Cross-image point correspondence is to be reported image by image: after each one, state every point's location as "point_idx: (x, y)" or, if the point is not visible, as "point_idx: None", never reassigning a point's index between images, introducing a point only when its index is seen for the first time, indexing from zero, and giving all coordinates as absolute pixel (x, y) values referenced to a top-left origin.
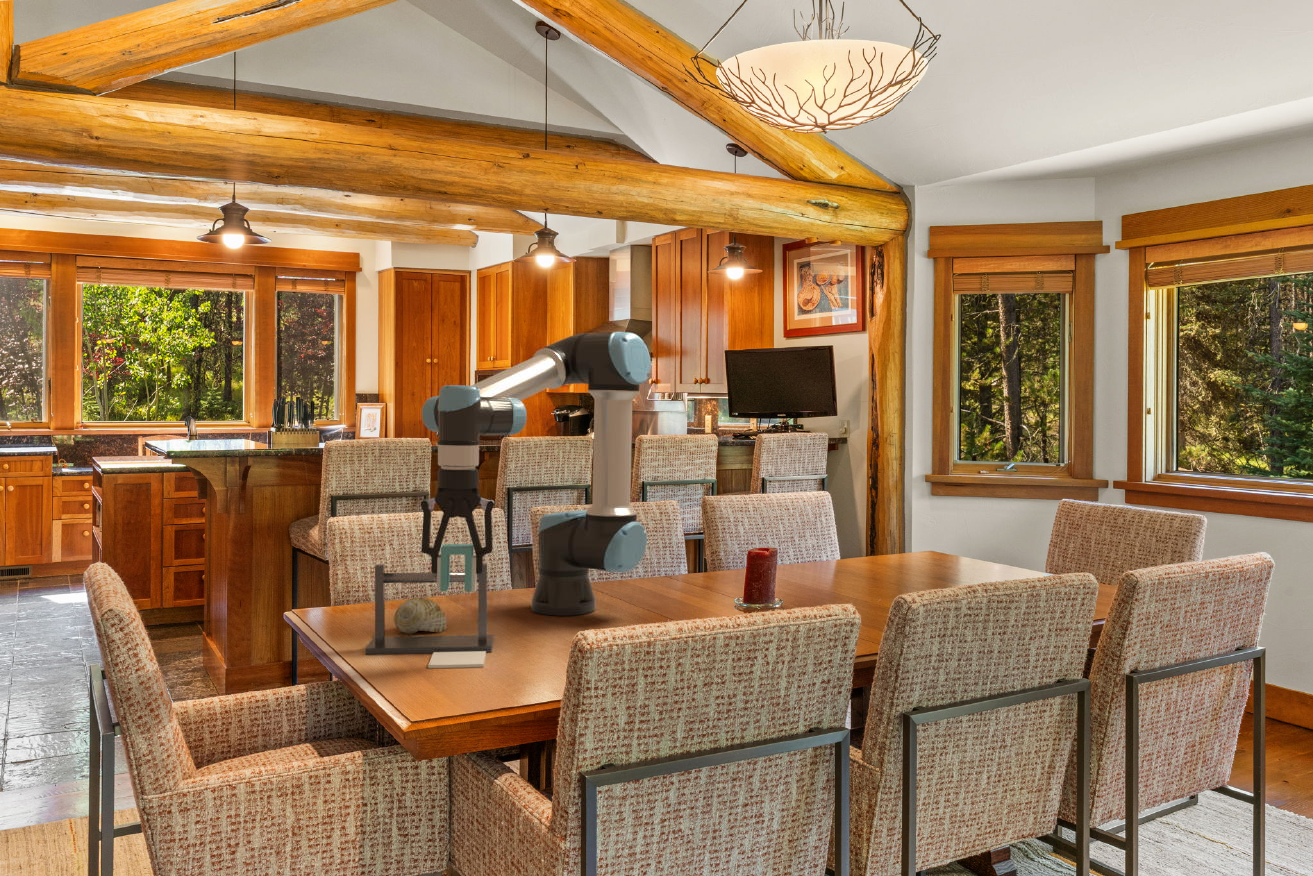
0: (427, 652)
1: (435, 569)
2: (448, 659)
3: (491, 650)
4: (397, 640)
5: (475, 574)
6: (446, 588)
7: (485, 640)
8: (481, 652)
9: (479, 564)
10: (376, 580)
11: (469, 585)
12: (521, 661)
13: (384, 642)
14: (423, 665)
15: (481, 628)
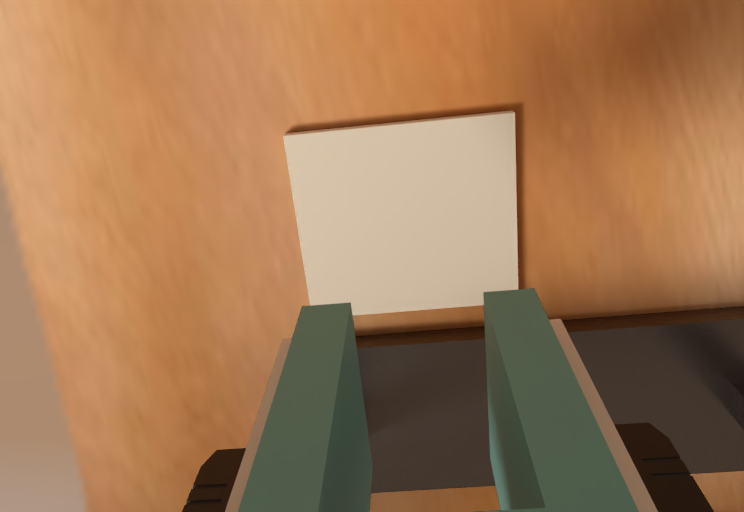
0: None
1: (633, 449)
2: (441, 200)
3: None
4: (679, 423)
5: (257, 418)
6: (490, 302)
7: None
8: (326, 300)
9: (209, 509)
10: None
11: (308, 324)
12: (153, 221)
13: (729, 398)
14: (538, 157)
15: None
